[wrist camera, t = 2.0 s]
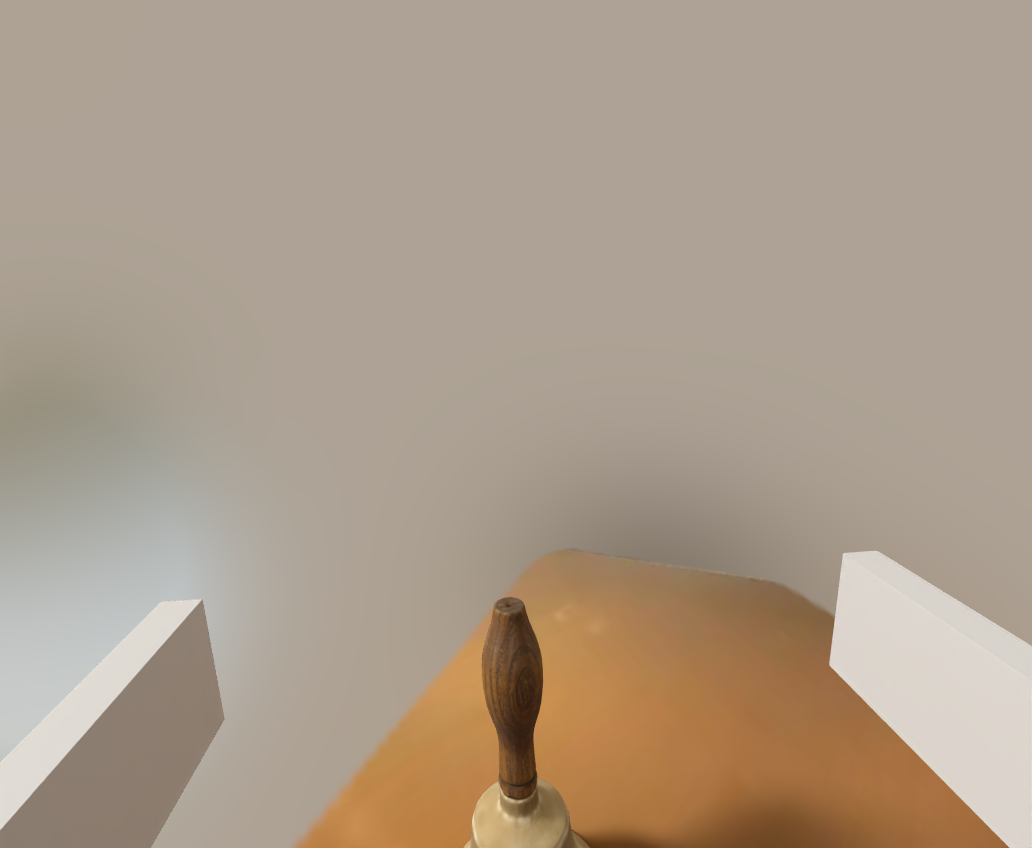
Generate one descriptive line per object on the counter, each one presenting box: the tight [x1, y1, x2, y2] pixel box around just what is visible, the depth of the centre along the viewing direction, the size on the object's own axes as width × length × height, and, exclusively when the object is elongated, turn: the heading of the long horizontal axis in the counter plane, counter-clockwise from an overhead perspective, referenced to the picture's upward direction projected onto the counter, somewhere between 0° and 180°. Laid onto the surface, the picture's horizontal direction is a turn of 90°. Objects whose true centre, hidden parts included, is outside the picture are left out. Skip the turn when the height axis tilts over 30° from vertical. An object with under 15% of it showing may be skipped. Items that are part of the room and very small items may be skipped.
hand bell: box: [464, 597, 590, 848], centre depth 24 cm, size 8×8×16 cm
